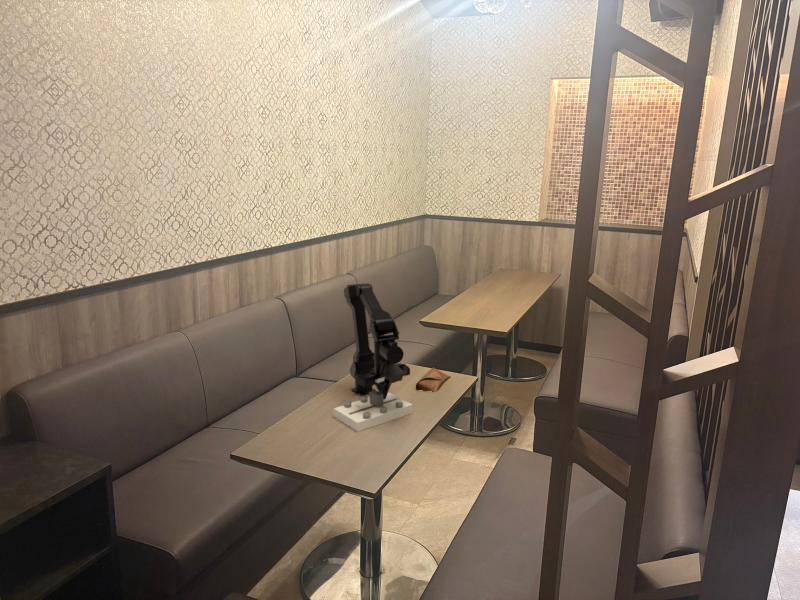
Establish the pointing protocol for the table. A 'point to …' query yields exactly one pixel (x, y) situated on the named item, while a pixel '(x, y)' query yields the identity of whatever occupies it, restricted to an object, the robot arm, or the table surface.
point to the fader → (376, 398)
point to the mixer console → (372, 412)
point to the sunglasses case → (432, 380)
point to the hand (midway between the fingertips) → (383, 398)
